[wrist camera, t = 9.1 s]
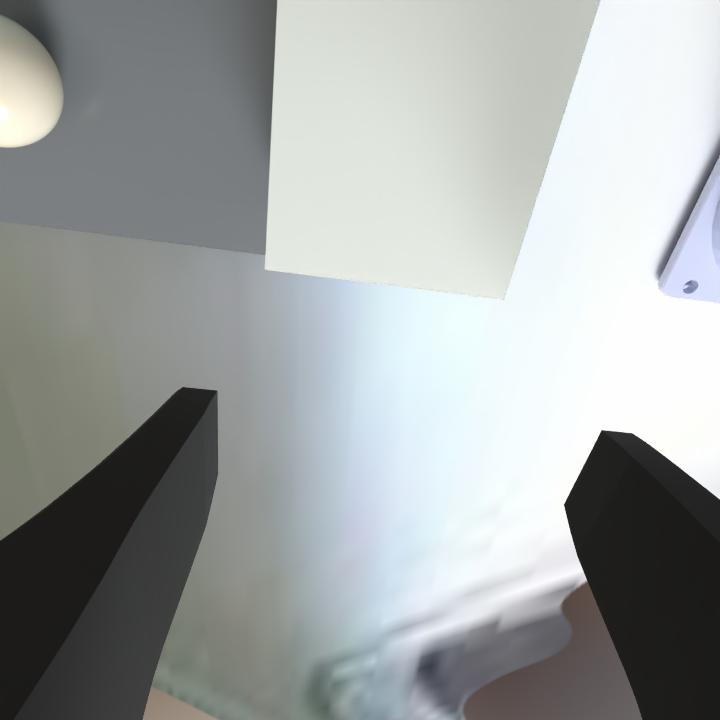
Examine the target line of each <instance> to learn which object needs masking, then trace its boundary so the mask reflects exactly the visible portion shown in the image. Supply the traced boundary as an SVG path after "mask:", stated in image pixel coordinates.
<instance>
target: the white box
mask: <svg viewBox="0 0 720 720" xmlns="http://www.w3.org/2000/svg"><path fill="white" fill-rule="evenodd" d="M599 3H600V0H277V18H276V40H275V62H274V83H273V105H272V126H271V148H270V170H269V191H268V213H267V234H266V256H265V270H272V271H280V272H288V273H296V274H304V275H312V276H320V277H328V278H336V279H344V280H352V281H360V282H368V283H375V284H383V285H391V286H399V287H407V288H415V289H423V290H431V291H439V292H447V293H455V294H463V295H471V296H479V297H487V298H495V299H503V300H504V299H505V295H506V292H507V289H508V286H509V283H510V280H511V277H512V274H513V271H514V267H515V264H516V261H517V258H518V255H519V252H520V249H521V246H522V243H523V239H524V236H525V233H526V230H527V227H528V224H529V221H530V218H531V215H532V211H533V208H534V205H535V202H536V199H537V196H538V193H539V190H540V187H541V183H542V180H543V177H544V174H545V171H546V168H547V165H548V162H549V159H550V155H551V152H552V149H553V146H554V143H555V140H556V137H557V134H558V131H559V127H560V124H561V121H562V118H563V115H564V112H565V109H566V106H567V102H568V99H569V96H570V93H571V90H572V87H573V84H574V81H575V78H576V74H577V71H578V68H579V65H580V62H581V59H582V56H583V53H584V50H585V46H586V43H587V40H588V37H589V34H590V31H591V28H592V25H593V22H594V18H595V15H596V12H597V9H598V6H599Z"/></svg>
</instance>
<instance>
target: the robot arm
mask: <svg viewBox="0 0 720 720" xmlns="http://www.w3.org/2000/svg"><path fill="white" fill-rule="evenodd" d="M691 280H692V283H691V285H690V286H689V287H687V288H685V289H683V286H684V285H685V284H686V283H687V282H689V281H691ZM658 288H659V290H660V291H661V292H662V293H663V294H664V295H665V296H668V297H671V298H679V299H687V300H695V301H702V302H710V303H718V304H720V156H719V158H718V160H717V162H716V164H715V166H714V168H713V170H712V172H711V174H710V177H709V179H708V181H707V183H706V185H705V187H704V189H703V191H702V193H701V195H700V197H699V199H698V201H697V203H696V205H695V207H694V209H693V211H692V213H691V216H690V218H689V220H688V222H687V224H686V226H685V228H684V230H683V232H682V234H681V236H680V238H679V240H678V242H677V244H676V246H675V248H674V250H673V252H672V255H671V257H670V259H669V261H668V263H667V265H666V267H665V269H664V271H663V273H662V275H661V277H660V279H659V282H658ZM217 476H218V406H217V391H215V390H205V389H196V388H186V387H182V388H181V389H179V390H178V391H177V392H176V393H175V394H173V395H172V396H171V397H170V398H169V399H168V400H167V401H166V402H165V403H164V404H163V405H162V406H161V407H160V408H159V409H158V410H157V411H156V412H155V413H154V414H153V415H152V416H151V417H150V418H149V419H148V420H147V421H146V422H145V423H144V424H143V425H142V426H140V427H139V428H138V429H137V430H136V431H135V432H134V433H133V434H132V435H131V436H130V437H129V438H128V439H126V440H125V441H124V442H123V443H122V444H121V445H120V446H119V447H118V448H116V449H115V450H114V451H113V452H112V453H111V454H110V455H109V456H107V457H106V458H105V459H104V460H103V461H102V462H101V463H100V464H98V465H97V466H96V467H95V468H94V469H93V470H91V471H90V472H89V473H88V474H87V475H85V476H84V477H83V478H82V479H80V480H79V481H78V482H77V483H75V484H74V485H73V486H72V487H70V488H69V489H68V490H67V491H66V492H64V493H63V494H62V495H61V496H59V497H58V498H57V499H56V500H54V501H53V502H52V503H51V504H49V505H48V506H47V507H46V508H44V509H43V510H42V511H40V512H39V513H38V514H36V515H35V516H34V517H32V518H31V519H30V520H28V521H27V522H26V523H24V524H23V525H22V526H20V527H19V528H17V529H16V530H15V531H13V532H12V533H11V534H9V535H8V536H6V537H5V538H3V539H2V540H1V541H0V720H142V719H143V715H144V711H145V708H146V703H147V700H148V696H149V692H150V688H151V684H152V681H153V677H154V674H155V671H156V667H157V664H158V661H159V658H160V655H161V651H162V648H163V645H164V643H165V640H166V637H167V634H168V631H169V629H170V626H171V623H172V620H173V617H174V615H175V612H176V609H177V606H178V603H179V601H180V598H181V595H182V592H183V589H184V587H185V584H186V581H187V578H188V575H189V573H190V570H191V567H192V564H193V561H194V558H195V556H196V553H197V550H198V547H199V544H200V541H201V539H202V536H203V533H204V530H205V527H206V524H207V519H208V515H209V511H210V507H211V503H212V498H213V494H214V489H215V485H216V480H217ZM564 506H565V511H566V515H567V519H568V523H569V527H570V531H571V535H572V538H573V542H574V545H575V549H576V552H577V556H578V558H579V561H580V563H581V566H582V568H583V571H584V573H585V576H586V578H587V581H588V583H589V586H590V588H591V590H592V593H593V595H594V598H595V600H596V603H597V605H598V607H599V610H600V612H601V614H602V617H603V619H604V622H605V624H606V626H607V629H608V631H609V634H610V636H611V638H612V640H613V643H614V645H615V648H616V650H617V653H618V655H619V658H620V660H621V662H622V665H623V667H624V669H625V672H626V674H627V677H628V680H629V682H630V685H631V687H632V690H633V693H634V696H635V698H636V701H637V704H638V707H639V710H640V713H641V716H642V719H643V720H720V499H718V498H717V497H716V496H715V495H713V494H712V493H711V492H709V491H708V490H707V489H706V488H704V487H703V486H702V485H701V484H699V483H698V482H697V481H695V480H694V479H693V478H692V477H690V476H689V475H688V474H687V473H685V472H684V471H683V470H681V469H680V468H679V467H678V466H676V465H675V464H674V463H673V462H671V461H670V460H669V459H667V458H666V457H665V456H663V455H662V454H661V453H659V452H658V451H657V450H655V449H654V448H653V447H651V446H650V445H649V444H647V443H646V442H644V441H643V440H641V439H640V438H638V437H637V436H635V435H634V434H632V433H623V432H613V431H604V430H602V431H601V433H600V435H599V437H598V439H597V441H596V443H595V445H594V447H593V449H592V451H591V453H590V455H589V457H588V459H587V461H586V463H585V465H584V466H583V468H582V470H581V472H580V474H579V476H578V478H577V480H576V482H575V484H574V486H573V488H572V490H571V492H570V494H569V496H568V498H567V500H566V502H565V504H564Z"/></svg>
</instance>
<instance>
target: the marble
mask: <svg viewBox="0 0 720 720" xmlns="http://www.w3.org/2000/svg"><path fill="white" fill-rule="evenodd" d="M63 104H64V91H63V85H62V80H61V77H60V74H59V71H58V69H57V66H56V64H55V62H54V61H53V59H52V57H51V55H50V54H49V52H48V51H47V50H46V48H45V47H44V46H43V45H42V43H41V42H40V41H39V40H38V39H37V38H36V37H35V36H34V35H33V34H31V33H30V32H29V31H28V30H27V29H25V28H24V27H23V26H21V25H20V24H18V23H17V22H15V21H13V20H11V19H9V18H7V17H5V16H3V15H0V147H5V148H13V147H21V146H26V145H30V144H32V143H35V142H37V141H39V140H40V139H42V138H44V137H45V136H46V135H47V134H49V133H50V132H51V131H52V129H53V128H54V127H55V126H56V124H57V122H58V120H59V118H60V115H61V112H62V109H63Z"/></svg>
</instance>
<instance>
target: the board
mask: <svg viewBox="0 0 720 720" xmlns="http://www.w3.org/2000/svg"><path fill="white" fill-rule="evenodd" d="M0 15H3V16H5V17H7V18H9V19H11V20H13V21H15V22H17V23H18V24H20V25H21V26H23V27H24V28H25V29H27V30H28V31H29V32H30V33H31V34H33V35H34V36H35V37H36V38H37V39H38V40H39V41H40V42H41V43H42V45H43V46H44V47H45V48H46V50H47V51H48V52H49V54H50V55H51V57H52V59H53V61H54V62H55V64H56V66H57V69H58V71H59V74H60V77H61V80H62V85H63V91H64V104H63V109H62V112H61V115H60V118H59V120H58V122H57V124H56V126H55V127H54V128H53V129H52V131H51V132H50V133H49V134H47V135H46V136H45V137H44V138H42V139H40V140H39V141H37V142H35V143H32V144H30V145H26V146H21V147H13V148H5V147H0V221H3V222H11V223H19V224H27V225H35V226H43V227H50V228H58V229H66V230H74V231H82V232H90V233H98V234H105V235H113V236H121V237H129V238H137V239H145V240H152V241H160V242H168V243H176V244H184V245H192V246H199V247H207V248H215V249H223V250H231V251H239V252H247V253H254V254H262V255H266V234H267V213H268V191H269V170H270V148H271V126H272V105H273V83H274V62H275V40H276V18H277V0H0Z"/></svg>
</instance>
